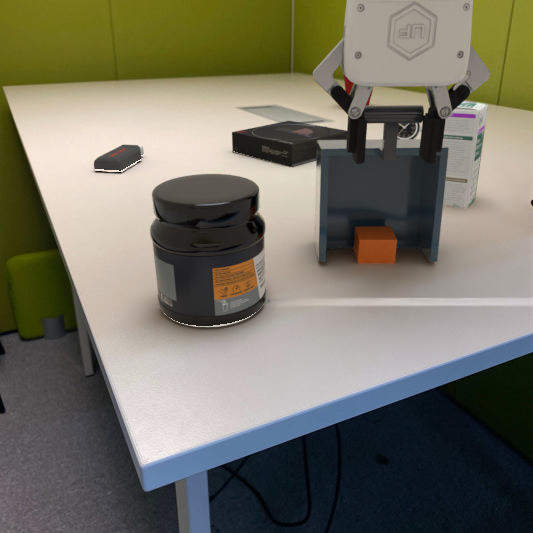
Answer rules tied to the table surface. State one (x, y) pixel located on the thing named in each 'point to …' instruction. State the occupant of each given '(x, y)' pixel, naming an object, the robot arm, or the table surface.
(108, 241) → the table surface
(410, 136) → the watch
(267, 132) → the black flat cardboard box
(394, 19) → the robot arm
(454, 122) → the syrup box
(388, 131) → the blue open box
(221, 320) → the supplement container
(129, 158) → the usb drive
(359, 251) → the block
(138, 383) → the table surface
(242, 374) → the table surface
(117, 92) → the table surface
